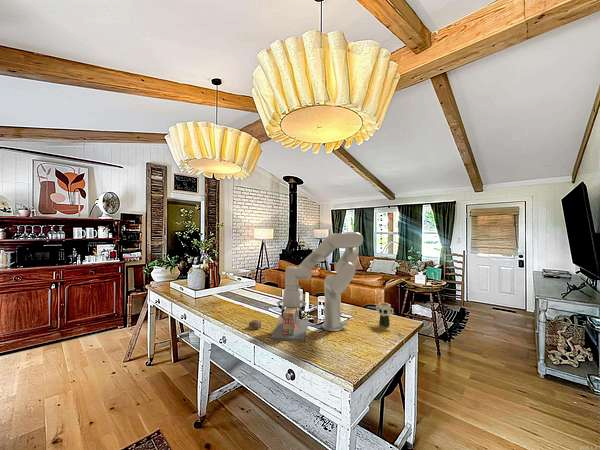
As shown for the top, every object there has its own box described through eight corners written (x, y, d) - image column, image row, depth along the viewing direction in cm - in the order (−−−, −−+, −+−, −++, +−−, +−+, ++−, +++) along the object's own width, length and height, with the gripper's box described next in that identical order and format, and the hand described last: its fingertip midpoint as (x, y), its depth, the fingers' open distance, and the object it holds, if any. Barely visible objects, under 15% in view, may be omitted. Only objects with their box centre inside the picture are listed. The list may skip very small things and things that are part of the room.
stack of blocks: (289, 320, 166) (289, 301, 166) (299, 321, 165) (299, 301, 165) (282, 334, 145) (282, 312, 145) (293, 335, 144) (293, 312, 144)
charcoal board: (308, 322, 167) (308, 320, 167) (304, 341, 139) (304, 338, 139) (280, 320, 169) (280, 318, 169) (271, 339, 141) (271, 337, 141)
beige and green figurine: (373, 324, 163) (373, 303, 163) (377, 321, 169) (377, 301, 169) (391, 329, 157) (391, 307, 157) (395, 325, 162) (395, 304, 163)
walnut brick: (261, 327, 158) (261, 320, 158) (258, 329, 155) (258, 323, 155) (252, 326, 160) (252, 319, 160) (248, 328, 156) (248, 321, 156)
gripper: (306, 286, 157) (306, 315, 157) (278, 285, 159) (278, 314, 159) (305, 289, 150) (305, 319, 150) (275, 288, 152) (275, 318, 151)
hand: (291, 316), depth 154 cm, fingers open, 9 cm apart
